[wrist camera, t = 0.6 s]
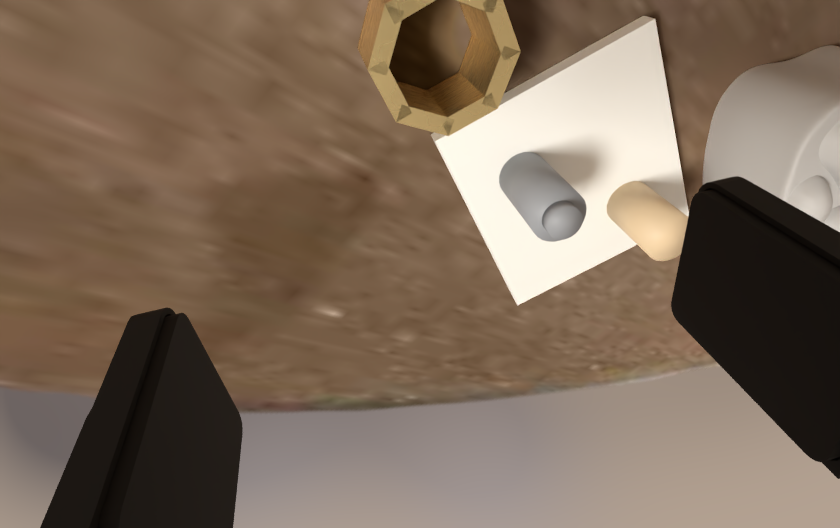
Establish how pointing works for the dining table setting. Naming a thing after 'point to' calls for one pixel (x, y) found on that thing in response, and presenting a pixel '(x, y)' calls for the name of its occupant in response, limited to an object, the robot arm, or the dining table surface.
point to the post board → (576, 165)
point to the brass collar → (458, 94)
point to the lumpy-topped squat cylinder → (783, 132)
